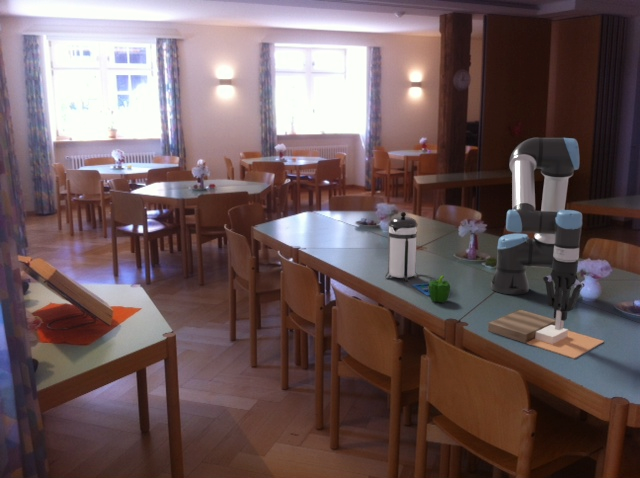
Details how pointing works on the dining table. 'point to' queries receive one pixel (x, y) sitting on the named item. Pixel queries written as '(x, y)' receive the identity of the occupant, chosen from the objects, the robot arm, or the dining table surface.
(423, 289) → the handheld gaming device
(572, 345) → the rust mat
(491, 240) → the dining table surface
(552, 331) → the cream block
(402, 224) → the coffee press
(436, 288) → the bell pepper
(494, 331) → the board
